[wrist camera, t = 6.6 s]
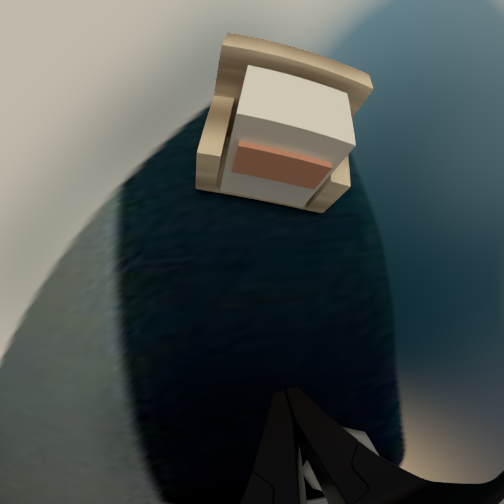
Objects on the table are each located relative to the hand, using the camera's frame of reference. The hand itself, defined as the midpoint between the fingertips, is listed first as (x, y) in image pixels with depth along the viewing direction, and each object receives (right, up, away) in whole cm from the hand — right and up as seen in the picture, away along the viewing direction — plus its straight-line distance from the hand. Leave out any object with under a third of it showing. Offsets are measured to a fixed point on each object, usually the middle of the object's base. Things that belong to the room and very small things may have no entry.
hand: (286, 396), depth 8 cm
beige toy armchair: (0, +12, +16) cm, 20 cm away
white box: (0, +11, +14) cm, 18 cm away
